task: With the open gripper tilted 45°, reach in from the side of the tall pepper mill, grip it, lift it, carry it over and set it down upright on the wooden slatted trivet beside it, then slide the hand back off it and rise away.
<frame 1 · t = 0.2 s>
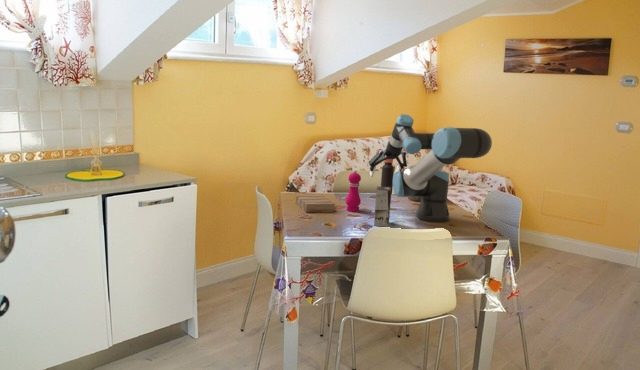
hand: (383, 175, 267), 15 cm above the table, tool tilted 35°, fingers open, 13 cm apart
wooden slatted trivet: (314, 207, 257), on the table
coffee box: (381, 224, 232), on the table
pepper mill: (352, 210, 255), on the table
bottle: (386, 192, 304), on the table
plant pot: (419, 200, 288), on the table
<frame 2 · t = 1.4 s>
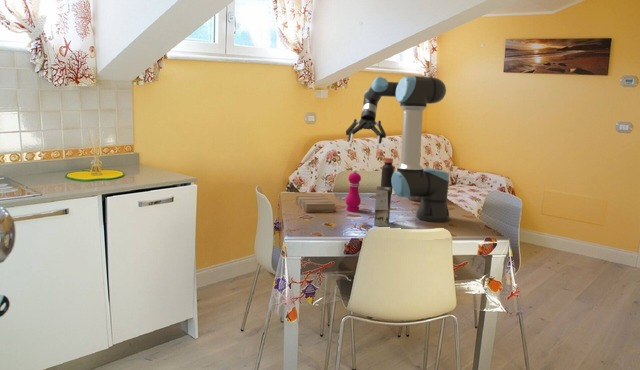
hand: (363, 146, 262), 30 cm above the table, tool tilted 45°, fingers open, 13 cm apart
nothing on the table moved.
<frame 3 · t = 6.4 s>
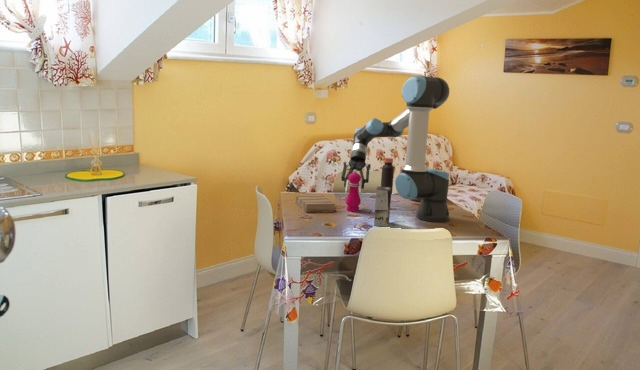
hand: (352, 192, 250), 9 cm above the table, tool tilted 45°, fingers closed on pepper mill, 6 cm apart
pepper mill: (352, 210, 255), on the table, touching gripper
everything else where it was.
when the fingers open (14 cm above the table, at t = 12.9 s): pepper mill stays where it is, resting on wooden slatted trivet.
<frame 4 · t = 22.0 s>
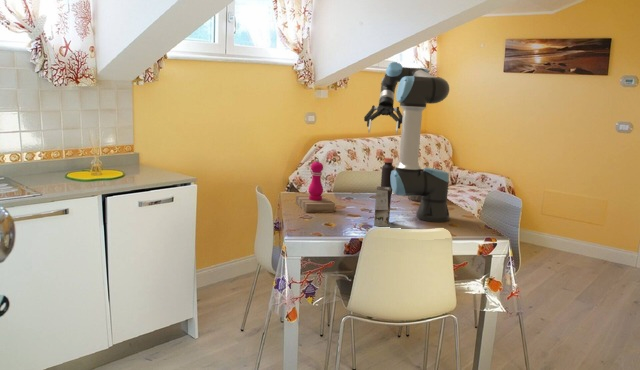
hand: (382, 131, 261), 38 cm above the table, tool tilted 45°, fingers open, 13 cm apart
pepper mill: (315, 199, 257), point 4 cm above the table, touching wooden slatted trivet
everything else where it was.
at the end: pepper mill inside the target area on the wooden slatted trivet (0.3 cm from its centre), point 3.8 cm above the wooden slatted trivet's base; pepper mill tilted 0°; the gripper is holding nothing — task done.
